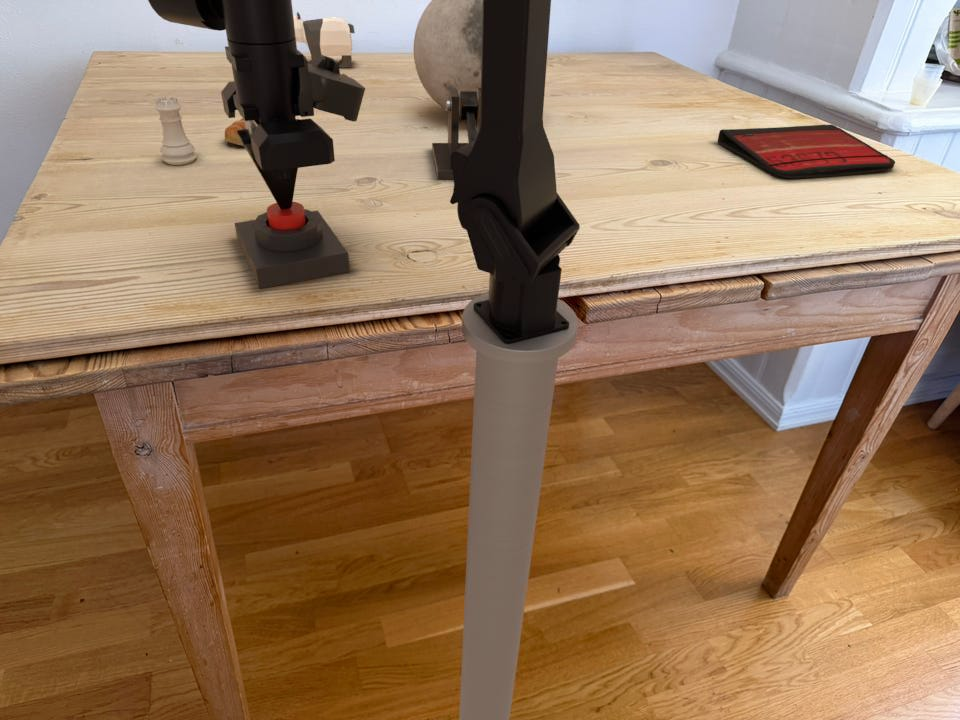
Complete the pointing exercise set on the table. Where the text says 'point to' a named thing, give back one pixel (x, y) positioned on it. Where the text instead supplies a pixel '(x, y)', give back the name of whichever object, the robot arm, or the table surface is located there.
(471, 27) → the moon model
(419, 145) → the table surface
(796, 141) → the binder
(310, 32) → the giant panda
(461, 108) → the lever
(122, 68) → the table surface
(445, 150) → the bracket
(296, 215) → the button
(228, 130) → the pastry
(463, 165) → the robot arm
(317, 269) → the button box
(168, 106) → the rook chess piece
